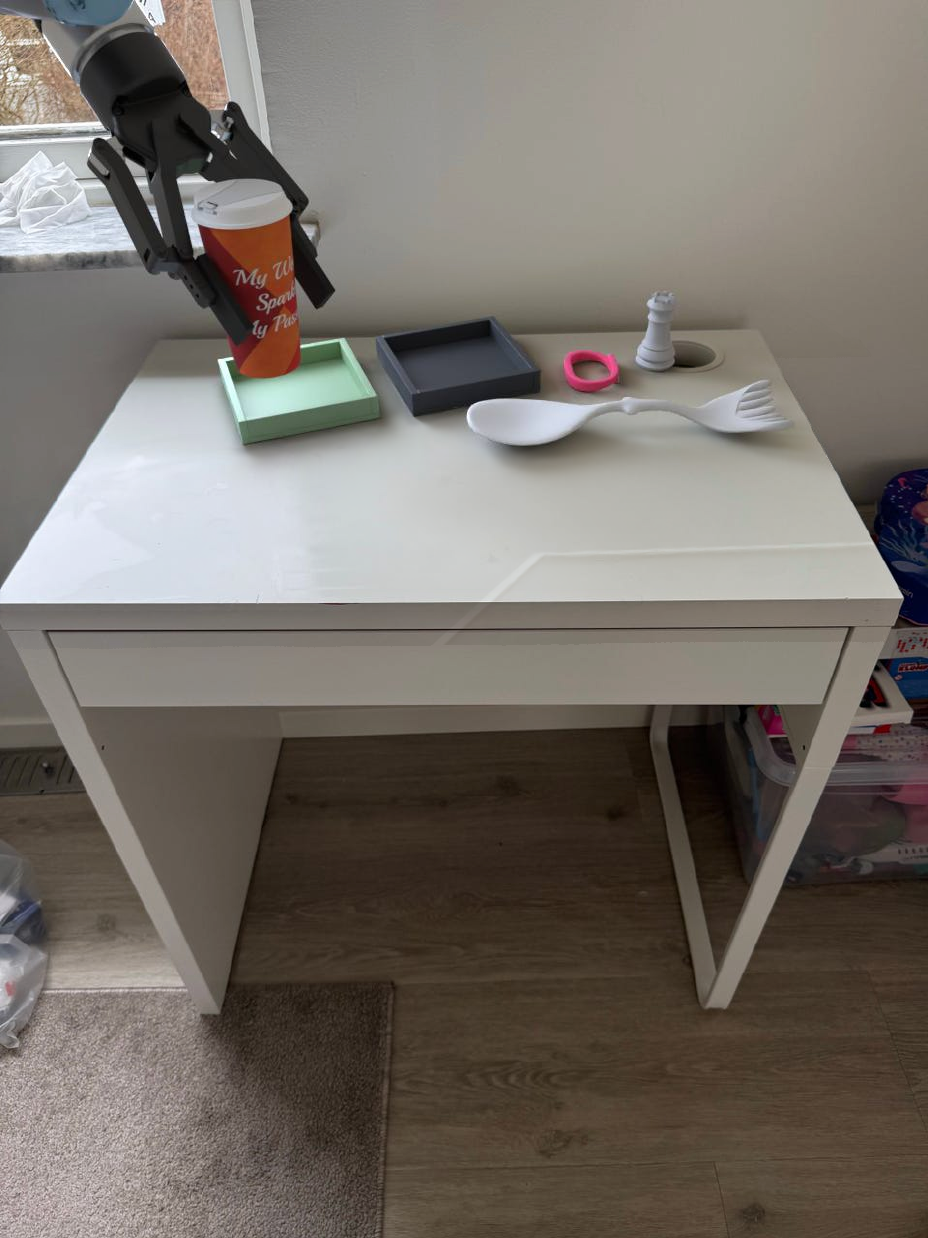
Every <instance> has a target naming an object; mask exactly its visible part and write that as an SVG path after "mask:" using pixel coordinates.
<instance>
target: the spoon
mask: <svg viewBox="0 0 928 1238" xmlns="http://www.w3.org/2000/svg"><path fill="white" fill-rule="evenodd" d="M772 384H773V383H772V380H771V379H762V380H759V381H755V382H753V383H751V384H748V385H747V386H744V387H742V388H740V389H738V390H735V391H733V392H729V393H727V394H723V395H721V396H718V397H716V398H713V399H711V400H710V401H708V402H706V403H705V404H703V405H701V406H697V407H693V406H688V405H685V404H682V403H679V402H676V401H672V400H667V399H643V398H642V399H641V398H635V397H632V396H625V397H623V398H622V400H615V401H608V402H603V403H595V404H577V403H567V402H561V401H552V400H545V399H526V398H525V399H524V398H505V399H493V400H486V401H481V402H478V403H475V404H473V405H470V407H468V409H467V413H466V421H467V425H468V427H469V428H470V430H471V431H472V432H474V433H475V434H477V435H478V436H480V437H482V438H484V439H487V440H488V441H489V440H490V441H492V442H495V443H499V444H503V445H509V446H518V447H519V446H520V447H521V446H523V447H524V446H539V445H544V444H548V443H552V442H555V441H558V440H560V439H563V438H565V437H567V436H569V435H570V434H572V433H574V432H575V431H576V430H578V429H579V428H581V427H582V426H584V425H586V424H587V423H588V422H589V421H591V420H593V419H594V418H597V417H599V416H602V415H605V414H609V413H610V414H611V413H624V414H625V415H628V416H635V415H638V414H639V413H644V412H667V413H671V414H674V415H678V416H680V417H683V418H685V419H686V420H689V421H692V422H693V423H695V424H697V425H699V426H702V427H704V428H706V429H708V430H712V431H716V432H718V433H719V432H720V433H734V434H736V433H754V432H755V433H757V432H758V433H760V432H761V433H762V432H778V431H784V430H787V429H790V428H791V427H793V425H794V420H793V419H788V418H787V417H785V416H783V413H782V412H774V411H775V410H776V409H777V406H775V405H767V404H769V403H771V402H772V401H774V397H773V396H769V395H771V394H772V392H773V390H772V389H768V388H770V387H771V386H772ZM765 405H767V406H765ZM772 412H773V413H772Z"/></svg>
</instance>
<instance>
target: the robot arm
mask: <svg viewBox="0 0 928 1238" xmlns="http://www.w3.org/2000/svg"><path fill="white" fill-rule="evenodd" d="M0 15H1V16H7V15H8V16H15V17H21V18H28V19H30V20H31V21H32V23H33V24H34V25H35V27H36V28H37V29H38V31H39V33H40V35H41V36H42V38H44V40H45V41H46V42H47V44H48V46H49V47H50V48H51V50H52V51H53V53H54V54H55V56H56V57H57V59H58V60H59V61H60V63H61V65H62V66H63V68H64V69H65V71H66V72H67V74H68V76H69V77H70V78H71V79H72V81H73V83H74V84H75V85H76V86H79V91H80V94H81V96H82V97H83V99H84V101H85V102H86V103H87V105H88V106H89V108H90V109H91V110H92V112H93V114H94V115H95V116H96V118H97V120H98V121H99V123H100V124H101V126H102V128H104V130H105V131H107V132H108V133H109V134H110V138H108V139H105V138H102V137H95V138H93V140H92V143H91V147H90V149H89V153H88V156H87V160H86V166H87V167H88V169H89V170H90V172H92V174H93V175H94V176H95V177H96V178H97V179H98V180H99V181H100V182H101V183H102V185H104V186H105V188H106V190H107V192H108V194H109V196H110V198H111V201H112V202H113V205H114V207H115V209H116V211H117V213H118V215H119V217H120V219H121V221H122V223H123V225H124V227H125V229H126V232H127V234H128V236H129V237H130V240H131V242H132V244H133V246H134V248H135V250H136V252H137V254H138V256H139V259H140V260H141V263H142V264H143V266H144V268H145V270H146V272H147V273H149V274H150V275H153V276H159V274H161V273H166V274H167V275H168V277H169V278H170V279H171V280H172V281H173V280H174V281H180V280H181V282H182V283H183V284H184V286H185V288H186V289H187V291H188V292H189V293H190V295H191V297H192V298H193V300H194V301H195V302H196V304H197V305H198V306H199V307H200V308H202V309H203V310H205V309H208V308H209V309H210V310H211V311H212V313H213V315H214V317H215V318H216V319H217V321H218V322H219V323H220V325H221V327H222V328H223V330H224V331H225V333H226V332H227V334H228V335H229V337H230V338H231V340H232V341H233V343H234V344H235V346H238V345H240V344H242V343H244V341H245V340H246V338H247V337H248V336H249V334H250V333H251V331H252V330H253V329H254V325H253V324H252V322H251V321H250V319H249V317H248V316H247V314H246V313H245V311H244V310H243V308H242V307H241V305H240V304H239V302H238V301H237V299H236V298H235V296H234V295H233V293H232V292H231V290H230V289H229V287H228V286H227V284H226V283H225V281H224V280H223V278H222V277H221V275H220V274H219V272H218V271H217V269H216V268H215V266H214V265H213V263H212V262H211V260H210V259H209V257H208V256H207V254H206V253H205V252H204V253H202V254H199V255H197V256H196V258H195V257H194V255H195V252H194V248H193V243H192V238H191V235H190V230H189V226H188V225H189V224H188V221H187V218H186V217H187V216H186V213H185V209H184V205H183V201H182V196H181V192H180V187H179V182H178V179H179V178H181V177H183V175H194V174H199V175H200V177H202V178H203V179H204V180H206V181H207V182H213V183H218V182H222V181H227V180H234V179H237V180H238V179H261V180H267V181H271V182H275V183H277V184H279V185H280V186H281V187H282V190H283V191H284V192H285V195H286V197H287V199H289V200H290V202H291V203H292V206H293V208H292V211H291V213H290V214H289V218H290V229H291V241H292V252H293V264H294V275H295V281H297V283H298V284H299V286H300V287H301V289H302V290H303V292H304V294H305V295H306V296H307V298H308V299H309V301H310V303H311V304H312V306H313V307H314V309H315V310H319V309H321V308H323V307H324V306H325V305H326V304H327V302H328V301H329V300H330V299H331V297H332V296H333V295H334V293H335V292H336V289H335V287H334V285H333V284H332V283H331V281H330V279H329V278H328V276H327V275H326V273H325V272H324V270H323V269H322V267H321V265H320V264H319V262H318V261H317V258H318V256H319V255H318V251H317V248H316V247H315V245H314V244H313V242H312V240H311V239H310V237H309V236H308V234H307V232H306V231H305V229H304V228H303V225H301V223H300V218H301V216H302V215H303V213H304V211H305V210H306V209H307V207H308V206H309V203H310V200H309V197H308V196H307V195H306V194H305V192H304V191H303V190H302V189H301V187H300V186H299V185H298V183H297V182H296V181H295V180H294V178H293V177H292V176H291V175H290V174H289V173H288V171H286V169H285V168H284V167H283V166H282V164H281V163H280V161H278V160H277V158H276V157H275V156H274V155H273V153H272V152H271V151H270V150H269V148H268V147H267V146H266V145H265V144H264V142H263V141H262V140H261V139H260V138H259V136H258V135H257V133H255V132H254V130H253V129H252V128H251V127H250V125H249V123H248V120H247V119H246V116H245V114H244V112H243V110H242V107H241V106H240V105H239V104H238V103H237V102H235V101H231V100H230V101H228V102H227V103H226V105H225V108H224V109H208V108H207V107H206V106H205V105H204V104H203V103H201V102H200V101H199V100H198V99H197V98H195V96H194V95H193V93H192V92H191V88H190V87H189V84H188V81H187V77H186V75H185V73H184V72H183V70H182V69H181V67H180V65H179V63H178V62H177V61H176V59H175V58H174V56H173V55H172V53H171V51H170V50H169V48H168V47H167V45H166V44H165V42H164V41H163V39H161V37H159V35H157V31H156V28H155V26H154V25H153V23H152V21H151V20H150V18H149V17H148V15H147V14H146V12H145V11H144V9H143V8H142V6H141V5H140V3H139V2H138V1H137V0H0ZM212 131H214V132H215V133H216V134H217V135H218V136H217V135H216V134H215V133H214V132H212ZM211 155H212V157H211V159H210V161H208V160H209V158H210V156H211ZM126 160H129V161H131V162H132V163H134V164H136V165H137V166H139V167H140V168H142V169H144V173H145V177H146V182H147V186H148V191H149V194H150V195H152V197H153V202H154V205H155V210H156V214H157V219H158V223H159V227H160V230H159V227H158V225H157V223H156V221H155V218H154V217H153V215H152V213H151V210H150V209H149V206H148V204H147V203H146V201H145V198H144V196H143V194H142V192H141V190H140V188H139V186H138V183H137V182H136V180H135V178H134V176H133V174H132V171H131V169H130V168H129V166H128V164H127V163H126V162H127V161H126ZM227 334H226V335H227Z"/></svg>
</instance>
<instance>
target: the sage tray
mask: <svg viewBox="0 0 928 1238" xmlns="http://www.w3.org/2000/svg"><path fill="white" fill-rule="evenodd" d="M300 350H301V362H300V365H299V366H298V367H297V368H296V369H295V370H293V371H292V372H290V373H288V374H285V375H282V376H279V377H274V378H252V377H248V376H245V375H243V374H241V373H240V372H239V371H238V370H237V368H236V365H235V362H234V359H233V356H230V357H224V358H218V359H217V363H218V368H219V372H220V377H221V381H222V384H223V387H224V391H225V393H226V396H227V397H226V398H227V399H228V403H229V407H230V409H231V412H232V415H233V418H234V422H235V424H236V427H237V429H238V434H239V437H240V440H241V443H242V445H247V444H252V443H257V442H262V441H268V440H271V439H279V438H283V437H288V436H294V435H299V434H304V433H308V432H309V433H310V432H314V431H319V430H320V431H321V430H324V429H329V428H336V427H340V426H346V425H350V424H355V423H360V422H366V421H370V420H377V419H380V418H381V417H380V415H381V414H380V405H379V396H378V395H377V392H376V391H375V389H374V388H373V385H372V384H371V382H370V380H369V378H368V377H367V375H366V373H365V371H364V369H363V368H362V366H361V364H360V362H359V361H358V359H357V357H356V355H355V353H354V352H353V350H352V349H351V347H350V345H349V343H348V341H347V340H346V338H345V337H341V338H335V339H329V340H324V341H323V340H322V341H318V342H311V343H305V344H300Z"/></svg>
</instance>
